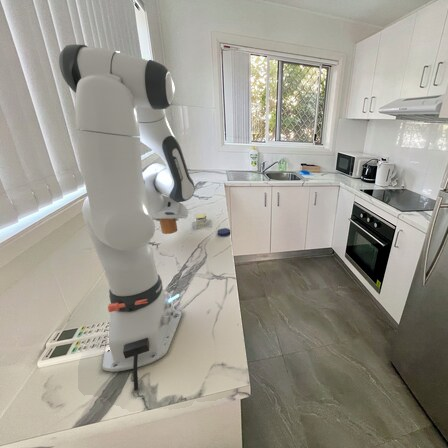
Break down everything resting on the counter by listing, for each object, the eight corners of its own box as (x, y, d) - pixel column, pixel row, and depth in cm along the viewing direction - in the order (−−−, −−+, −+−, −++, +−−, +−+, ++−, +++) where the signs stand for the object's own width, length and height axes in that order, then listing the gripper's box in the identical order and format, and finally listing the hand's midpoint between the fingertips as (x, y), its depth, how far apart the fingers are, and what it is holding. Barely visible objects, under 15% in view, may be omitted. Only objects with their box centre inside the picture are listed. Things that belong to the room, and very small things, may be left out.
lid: (219, 231, 132) (219, 228, 131) (231, 231, 132) (231, 228, 131) (216, 236, 126) (215, 233, 125) (228, 236, 126) (228, 233, 125)
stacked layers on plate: (210, 227, 136) (209, 218, 134) (193, 229, 133) (192, 219, 131) (209, 220, 144) (208, 212, 142) (193, 222, 141) (192, 213, 139)
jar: (176, 233, 108) (172, 208, 104) (160, 234, 106) (155, 210, 101) (178, 227, 114) (174, 204, 109) (162, 229, 111) (158, 205, 107)
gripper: (124, 213, 93) (142, 226, 106) (180, 212, 96) (191, 225, 108) (127, 198, 95) (144, 213, 108) (182, 198, 98) (192, 212, 111)
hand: (168, 219), depth 108 cm, fingers closed on jar, 6 cm apart
